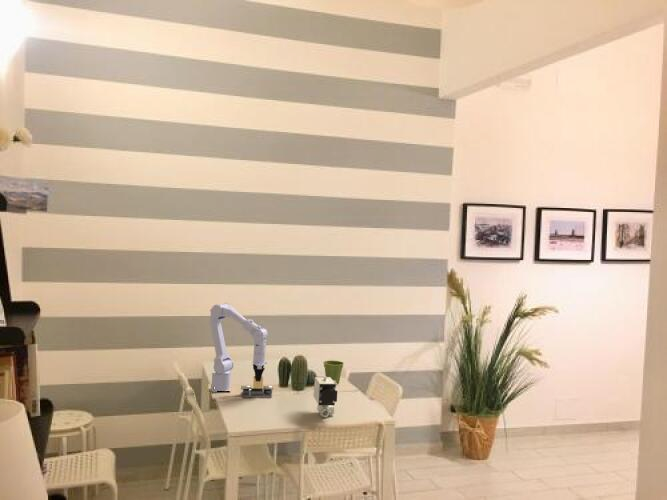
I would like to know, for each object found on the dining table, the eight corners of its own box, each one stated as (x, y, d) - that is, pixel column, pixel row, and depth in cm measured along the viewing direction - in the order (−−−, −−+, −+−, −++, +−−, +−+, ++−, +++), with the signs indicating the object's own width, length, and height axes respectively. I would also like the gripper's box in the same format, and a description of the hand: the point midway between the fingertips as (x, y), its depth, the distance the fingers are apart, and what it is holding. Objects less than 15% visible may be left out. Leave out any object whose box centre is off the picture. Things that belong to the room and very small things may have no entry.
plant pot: (343, 380, 341) (345, 361, 341) (342, 386, 329) (343, 365, 329) (323, 379, 342) (324, 359, 342) (320, 384, 330) (321, 364, 330)
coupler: (253, 388, 298) (254, 376, 297) (253, 385, 302) (253, 374, 301) (262, 388, 298) (263, 377, 298) (261, 386, 302) (262, 375, 302)
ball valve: (337, 421, 269) (339, 381, 268) (318, 421, 267) (321, 381, 267) (329, 409, 287) (331, 371, 286) (312, 409, 285) (314, 371, 284)
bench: (241, 397, 297) (241, 388, 297) (240, 392, 307) (240, 383, 306) (273, 397, 300) (274, 388, 300) (272, 392, 310) (272, 383, 309)
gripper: (268, 356, 293) (266, 384, 293) (266, 350, 307) (265, 376, 308) (253, 356, 292) (252, 383, 292) (252, 349, 306) (251, 376, 307)
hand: (257, 380), depth 300 cm, fingers closed on coupler, 4 cm apart
